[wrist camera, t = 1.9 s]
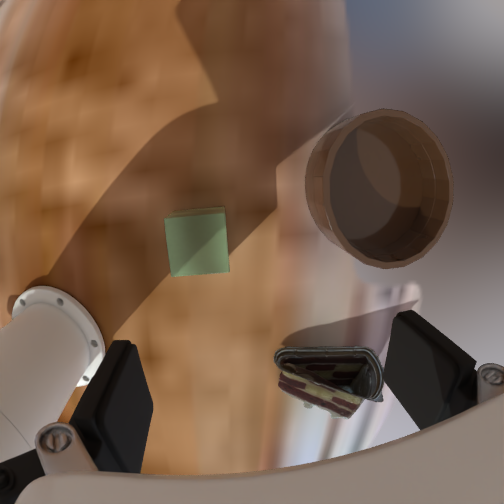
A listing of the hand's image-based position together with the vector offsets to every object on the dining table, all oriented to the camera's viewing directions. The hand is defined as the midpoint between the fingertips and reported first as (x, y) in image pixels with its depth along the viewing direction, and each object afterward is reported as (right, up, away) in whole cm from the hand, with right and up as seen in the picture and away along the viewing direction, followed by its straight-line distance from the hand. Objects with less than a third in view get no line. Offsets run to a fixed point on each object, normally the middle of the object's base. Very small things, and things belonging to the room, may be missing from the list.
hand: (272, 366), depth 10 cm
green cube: (-5, +5, +17) cm, 18 cm away
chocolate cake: (+7, -10, +22) cm, 25 cm away
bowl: (+11, +10, +17) cm, 22 cm away
